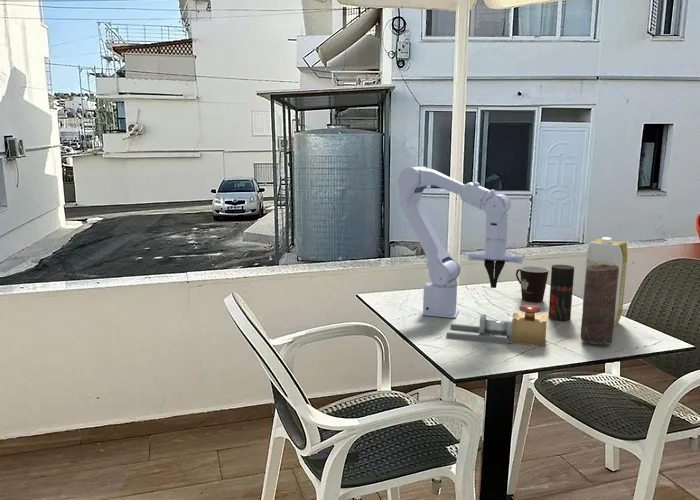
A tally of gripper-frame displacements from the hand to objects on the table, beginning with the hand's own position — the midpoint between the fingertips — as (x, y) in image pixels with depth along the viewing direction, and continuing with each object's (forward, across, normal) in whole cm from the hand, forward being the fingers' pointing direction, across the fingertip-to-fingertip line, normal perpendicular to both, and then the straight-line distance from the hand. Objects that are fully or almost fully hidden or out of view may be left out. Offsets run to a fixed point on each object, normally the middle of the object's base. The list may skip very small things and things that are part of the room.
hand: (493, 287), depth 156 cm
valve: (+10, +10, -13) cm, 19 cm away
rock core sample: (+10, +26, -10) cm, 30 cm away
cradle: (+10, -2, -13) cm, 16 cm away
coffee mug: (+10, +10, +28) cm, 31 cm away
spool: (+10, +2, -13) cm, 16 cm away
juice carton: (+10, +29, +9) cm, 32 cm away
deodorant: (+10, +18, +9) cm, 23 cm away
